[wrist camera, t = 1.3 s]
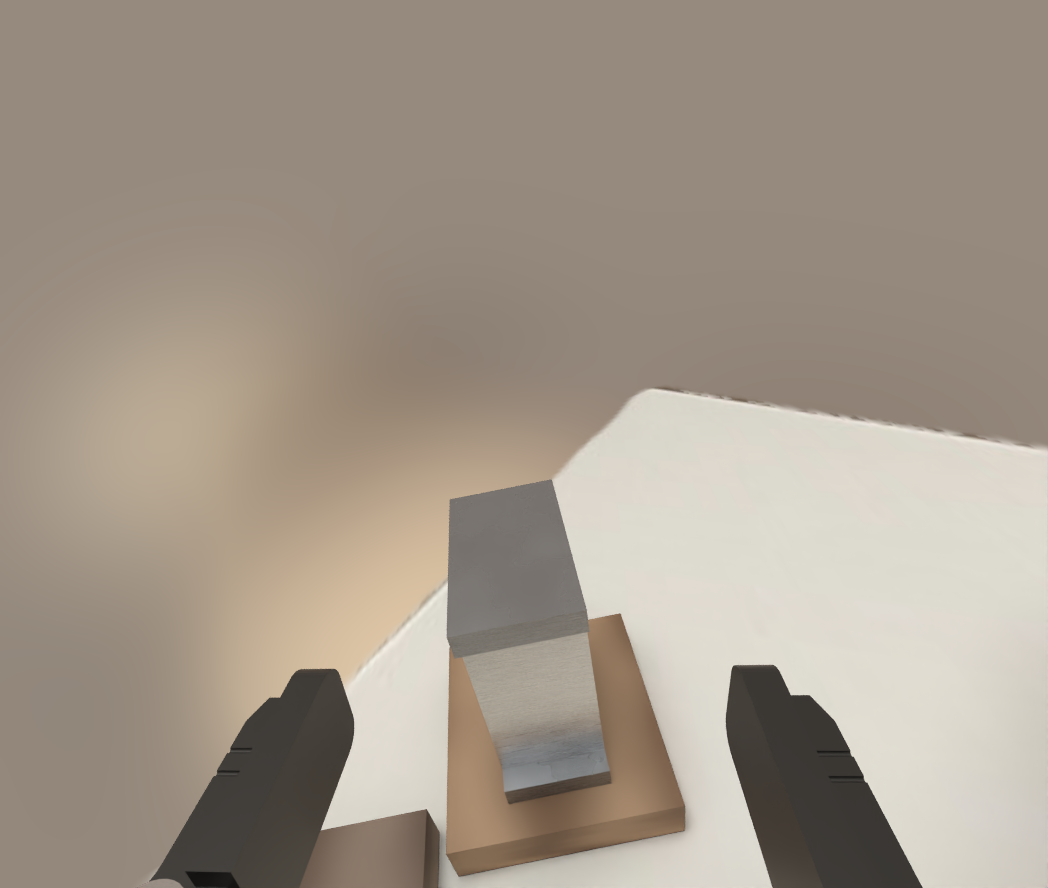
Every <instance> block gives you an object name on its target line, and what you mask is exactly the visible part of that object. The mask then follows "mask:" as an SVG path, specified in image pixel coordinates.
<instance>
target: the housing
mask: <svg viewBox="0 0 1048 888" xmlns="http://www.w3.org/2000/svg"><path fill="white" fill-rule="evenodd" d="M449 516H450V518H449V520H450V521H449V560H448V561H449V563H448V605H447V640H448V642H449V645H450V648H451V650H452V653H453V656H454V658H455V659H456V658H461V657H463V660H464V663H465V666H466V669H467V671H468V674H469V677H470V680H471V683H472V685H473V688H474V691H475V694H476V697H477V699H478V702H479V705H480V708H481V711H482V713H483V716H484V719H485V722H486V725H487V727H488V730H489V733H490V736H491V738H492V741H493V744H494V747H495V750H496V752H497V755H498V758H499V761H500V764H501V766H502V769H503V782H504V793H505V796H506V798H507V801H508V804H513V803H518V802H523V801H528V800H533V799H538V798H542V797H547V796H552V795H557V794H562V793H567V792H572V791H577V790H582V789H587V788H592V787H597V786H602V785H607V784H612V783H611V776H610V770H609V765H608V761H607V757H606V753H605V748H604V741H603V735H602V728H601V721H600V714H599V708H598V701H597V694H596V687H595V681H594V674H593V667H592V660H591V654H590V647H589V640H588V634H587V632H590V630H589V623H588V617H587V610H586V606H585V602H584V598H583V595H582V591H581V587H580V584H579V580H578V576H577V572H576V569H575V565H574V561H573V557H572V554H571V550H570V546H569V542H568V539H567V535H566V531H565V527H564V524H563V520H562V516H561V513H560V509H559V505H558V501H557V498H556V494H555V490H554V486H553V483H552V480H547V481H541V482H536V483H532V484H526V485H521V486H516V487H511V488H506V489H501V490H496V491H491V492H486V493H481V494H476V495H470V496H466V497H461V498H455V499H451V500H450V515H449Z"/></svg>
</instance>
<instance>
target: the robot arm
mask: <svg viewBox="0 0 1048 888" xmlns="http://www.w3.org/2000/svg"><path fill="white" fill-rule="evenodd" d="M726 730H727V737H728V743H729V747H730V751H731V755H732V758H733V761H734V764H735V768H736V771H737V774H738V777H739V780H740V784H741V787H742V790H743V793H744V797H745V800H746V803H747V806H748V809H749V813H750V816H751V819H752V822H753V826H754V829H755V832H756V835H757V838H758V842H759V845H760V848H761V851H762V854H763V858H764V861H765V864H766V867H767V871H768V874H769V877H770V880H771V883H772V887H773V888H923V887H922V886H921V884H920V882H919V880H918V878H917V877H916V875H915V873H914V871H913V869H912V867H911V865H910V863H909V861H908V859H907V858H906V856H905V854H904V852H903V850H902V848H901V846H900V844H899V842H898V840H897V839H896V837H895V835H894V833H893V831H892V829H891V827H890V825H889V823H888V821H887V819H886V818H885V816H884V814H883V812H882V810H881V808H880V806H879V804H878V802H877V800H876V799H875V797H874V795H873V793H872V791H871V789H870V787H869V785H868V783H865V781H864V776H863V774H862V772H861V770H860V768H859V766H858V764H857V762H856V761H855V759H854V757H852V756H851V753H850V749H849V747H848V745H847V743H846V742H845V740H844V738H843V736H842V734H841V732H840V730H839V728H838V726H837V724H836V723H835V721H834V720H833V719H832V718H831V717H830V716H829V715H828V714H827V713H826V712H825V711H824V710H823V709H822V707H821V706H820V705H819V704H818V703H817V702H816V701H815V700H814V699H813V698H812V697H811V696H810V695H790V693H789V691H788V688H787V686H786V684H785V682H784V680H783V678H782V676H781V674H780V672H779V670H778V669H777V667H776V666H774V665H735V666H733V668H732V671H731V679H730V687H729V695H728V703H727V712H726ZM353 736H354V718H353V714H352V711H351V708H350V705H349V702H348V699H347V696H346V693H345V690H344V687H343V684H342V681H341V678H340V675H339V673H338V671H337V670H336V669H301V670H298V671H296V672H295V673H294V675H293V676H292V677H291V679H290V681H289V683H288V684H287V687H286V688H285V690H284V692H283V693H282V695H281V697H280V698H269V699H268V700H267V701H266V702H265V703H264V704H263V705H262V706H261V707H260V708H259V709H258V710H257V711H256V712H255V713H254V714H253V715H252V716H251V717H250V718H249V719H248V720H247V721H246V722H245V724H244V726H243V727H242V729H241V731H240V733H239V734H238V736H237V738H236V739H235V741H234V743H233V744H232V746H231V750H230V753H227V754H226V756H225V758H224V760H223V761H222V763H221V765H220V767H219V768H218V770H217V775H216V776H214V777H213V778H212V780H211V782H210V783H209V785H208V787H207V789H206V790H205V792H204V794H203V795H202V797H201V799H200V800H199V802H198V804H197V805H196V807H195V809H194V811H193V812H192V814H191V816H190V817H189V819H188V821H187V822H186V824H185V826H184V828H183V829H182V831H181V833H180V834H179V836H178V838H177V839H176V841H175V843H174V844H173V846H172V848H171V849H170V851H169V853H168V855H167V856H166V858H165V860H164V862H163V863H162V865H161V866H160V868H159V869H158V871H157V872H156V874H155V875H154V876H153V877H152V879H151V880H150V881H149V882H147V883H145V884H142V885H141V886H139V887H137V888H299V887H300V884H301V882H302V879H303V876H304V873H305V871H306V868H307V865H308V863H309V860H310V857H311V855H312V852H313V849H314V847H315V844H316V841H317V838H318V836H319V833H320V830H321V828H322V825H323V822H324V820H325V817H326V814H327V812H328V809H329V806H330V803H331V801H332V798H333V795H334V793H335V790H336V787H337V785H338V782H339V779H340V777H341V774H342V771H343V768H344V766H345V763H346V760H347V758H348V755H349V752H350V749H351V746H352V742H353Z"/></svg>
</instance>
